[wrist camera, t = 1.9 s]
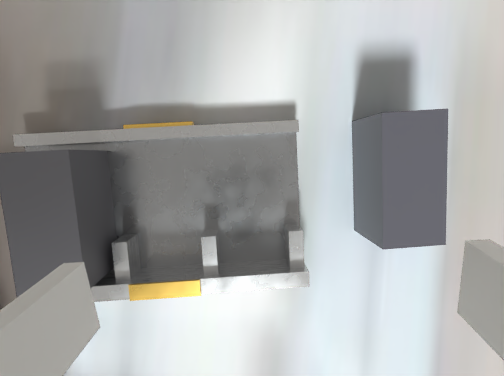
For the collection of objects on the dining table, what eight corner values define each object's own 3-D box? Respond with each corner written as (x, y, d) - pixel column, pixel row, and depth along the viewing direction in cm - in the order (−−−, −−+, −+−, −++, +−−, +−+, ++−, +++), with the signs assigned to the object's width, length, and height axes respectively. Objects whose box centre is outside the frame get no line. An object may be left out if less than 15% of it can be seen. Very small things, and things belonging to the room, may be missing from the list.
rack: (300, 268, 34) (310, 287, 29) (49, 286, 33) (15, 308, 28) (294, 118, 32) (304, 111, 27) (26, 132, 31) (-14, 127, 26)
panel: (403, 226, 34) (445, 244, 27) (353, 229, 34) (382, 249, 27) (403, 118, 32) (448, 108, 26) (351, 121, 32) (381, 112, 25)
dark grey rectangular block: (119, 262, 32) (86, 292, 25) (65, 266, 32) (16, 297, 25) (107, 150, 31) (68, 149, 24) (49, 153, 31) (-7, 153, 24)
